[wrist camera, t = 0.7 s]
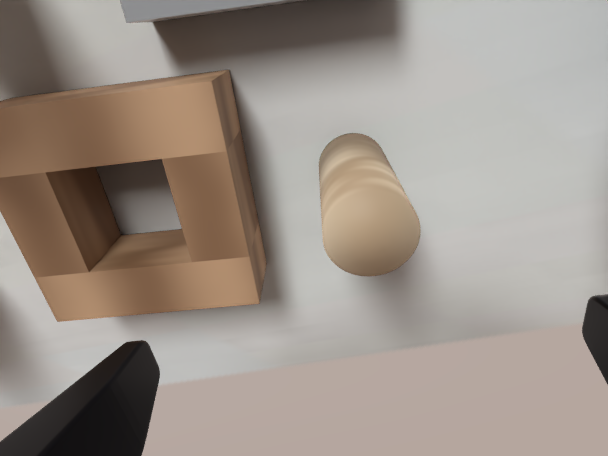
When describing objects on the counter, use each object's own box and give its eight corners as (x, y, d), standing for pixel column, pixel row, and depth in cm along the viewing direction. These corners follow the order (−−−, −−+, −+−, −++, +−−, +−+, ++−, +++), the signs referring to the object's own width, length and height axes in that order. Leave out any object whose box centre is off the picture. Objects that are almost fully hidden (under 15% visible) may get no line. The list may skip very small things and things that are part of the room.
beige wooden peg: (384, 129, 19) (421, 185, 13) (386, 193, 20) (420, 271, 14) (315, 137, 19) (318, 196, 13) (322, 199, 20) (327, 280, 14)
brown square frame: (228, 69, 18) (211, 80, 14) (266, 263, 22) (259, 303, 19) (11, 98, 18) (-50, 114, 15) (91, 280, 23) (57, 321, 20)
